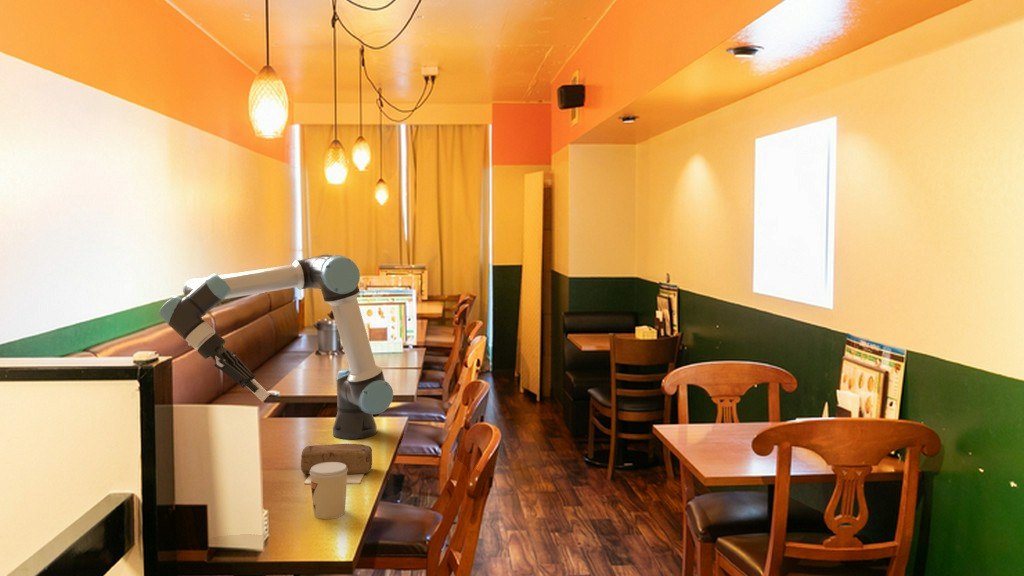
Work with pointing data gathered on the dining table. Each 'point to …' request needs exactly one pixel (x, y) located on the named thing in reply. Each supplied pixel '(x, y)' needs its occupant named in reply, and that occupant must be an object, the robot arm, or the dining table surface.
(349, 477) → the mat
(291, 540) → the dining table surface
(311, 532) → the dining table surface
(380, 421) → the dining table surface
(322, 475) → the coffee cup
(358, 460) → the block
